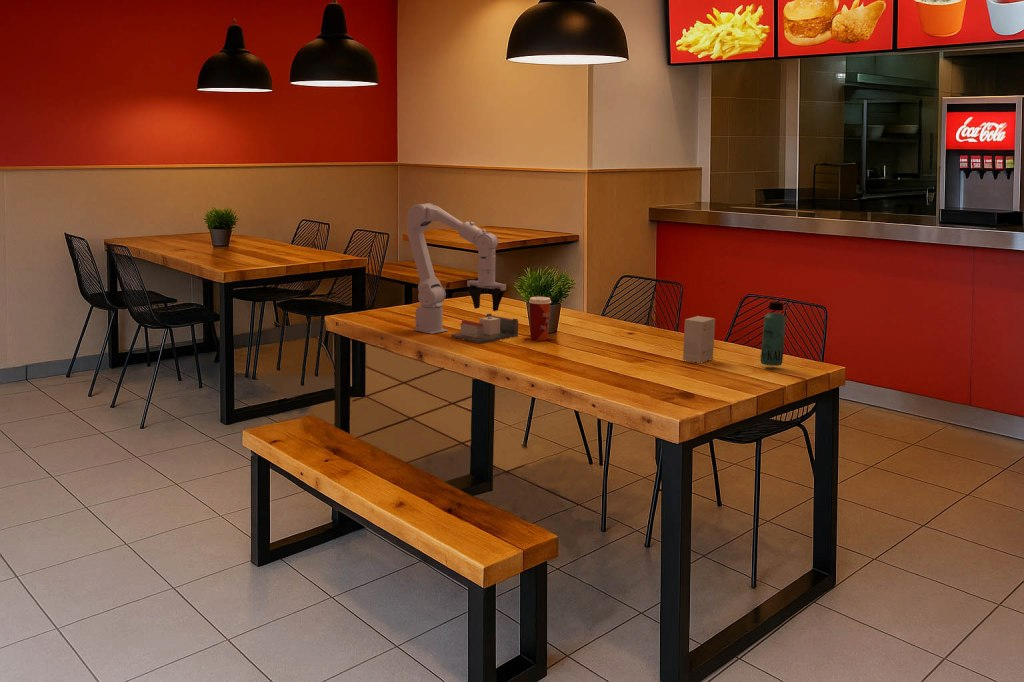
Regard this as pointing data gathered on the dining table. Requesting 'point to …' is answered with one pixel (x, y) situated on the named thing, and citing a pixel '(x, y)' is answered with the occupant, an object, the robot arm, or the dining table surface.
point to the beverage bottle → (773, 336)
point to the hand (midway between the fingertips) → (486, 309)
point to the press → (506, 331)
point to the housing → (490, 325)
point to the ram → (472, 329)
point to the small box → (698, 339)
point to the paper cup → (539, 317)
